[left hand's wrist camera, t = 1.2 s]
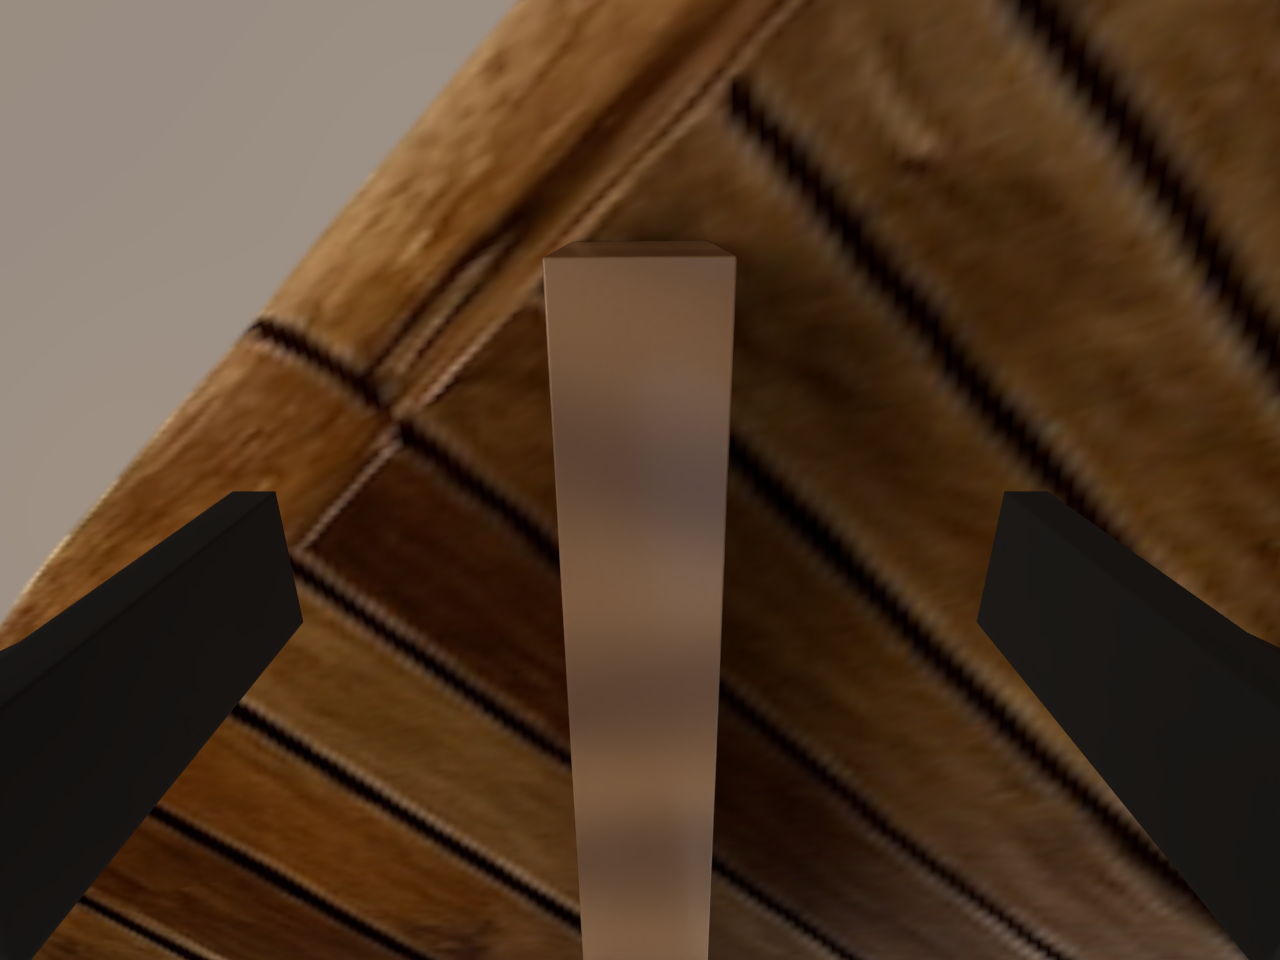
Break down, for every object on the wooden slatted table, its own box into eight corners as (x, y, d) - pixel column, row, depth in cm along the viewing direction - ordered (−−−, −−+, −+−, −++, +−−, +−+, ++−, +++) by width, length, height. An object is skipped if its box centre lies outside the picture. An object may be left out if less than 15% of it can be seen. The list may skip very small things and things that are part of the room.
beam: (570, 241, 25) (541, 257, 18) (708, 240, 25) (737, 255, 18) (610, 1162, 47) (605, 1341, 40) (683, 1162, 47) (692, 1340, 40)
